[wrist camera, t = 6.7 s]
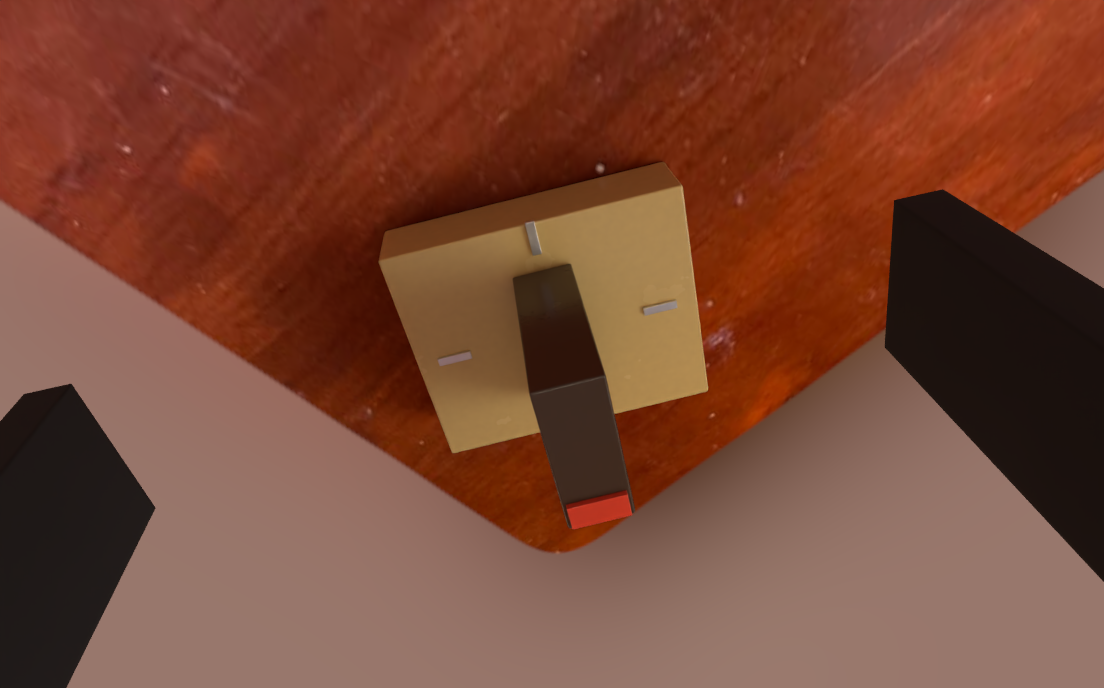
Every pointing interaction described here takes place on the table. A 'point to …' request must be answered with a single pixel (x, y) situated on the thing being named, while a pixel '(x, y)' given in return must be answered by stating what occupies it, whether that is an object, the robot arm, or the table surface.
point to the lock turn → (571, 398)
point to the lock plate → (537, 244)
